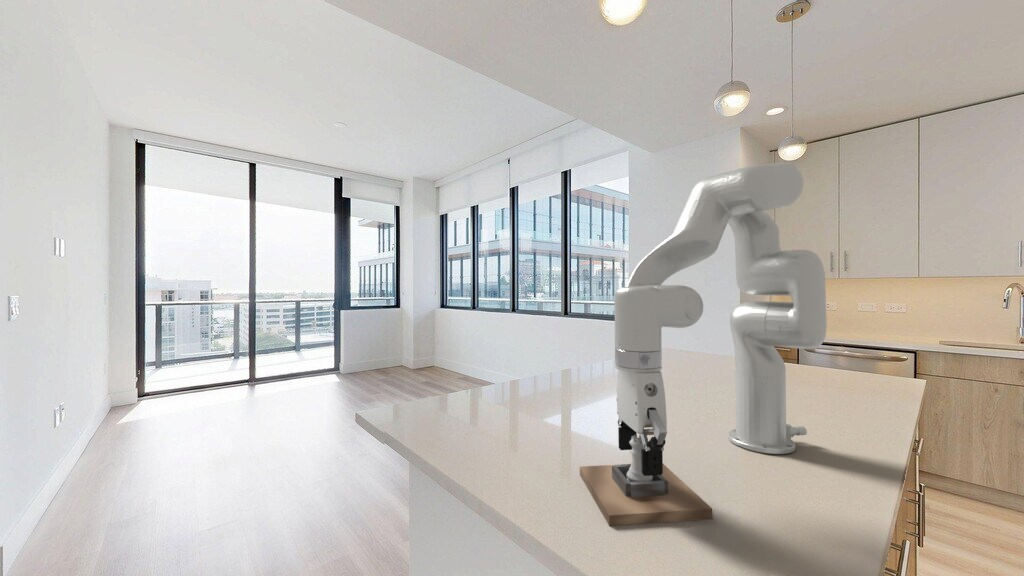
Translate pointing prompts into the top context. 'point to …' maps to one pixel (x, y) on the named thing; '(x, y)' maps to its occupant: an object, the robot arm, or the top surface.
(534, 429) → the top surface
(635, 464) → the rook chess piece
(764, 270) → the robot arm
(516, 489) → the top surface
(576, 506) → the top surface
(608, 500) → the jig board
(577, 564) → the top surface
